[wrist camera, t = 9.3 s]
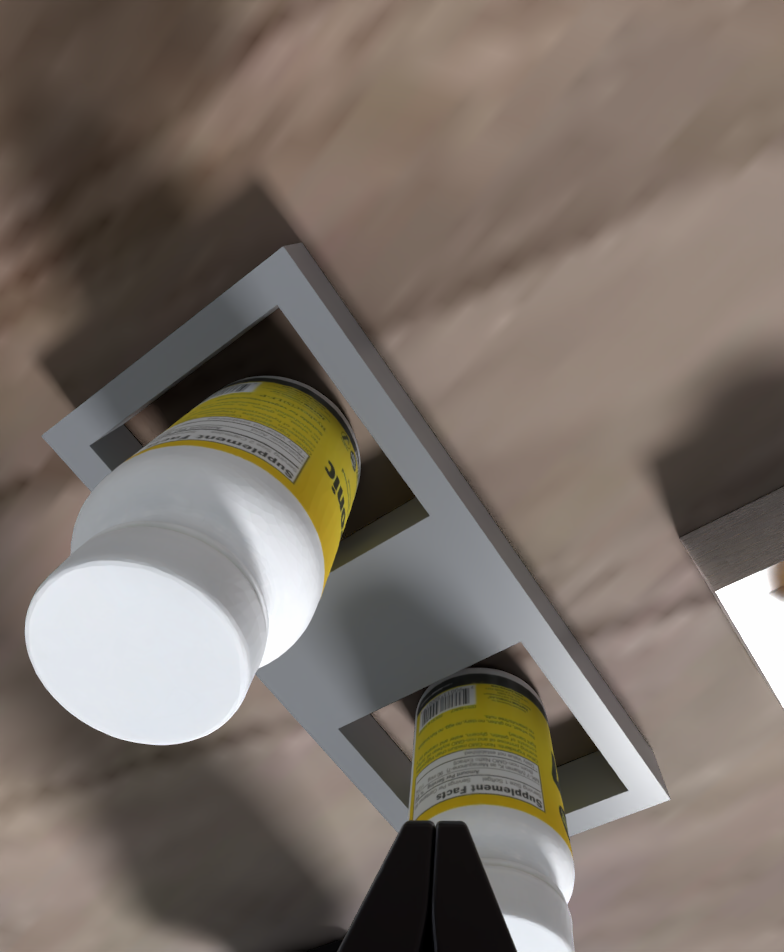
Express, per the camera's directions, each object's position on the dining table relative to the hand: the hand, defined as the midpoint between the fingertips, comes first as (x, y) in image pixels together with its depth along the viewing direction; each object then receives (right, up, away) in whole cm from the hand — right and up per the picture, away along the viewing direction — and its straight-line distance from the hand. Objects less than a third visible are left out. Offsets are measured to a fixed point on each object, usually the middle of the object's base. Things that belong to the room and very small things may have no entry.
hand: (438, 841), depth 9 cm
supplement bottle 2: (+3, -4, +15) cm, 15 cm away
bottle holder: (-1, +1, +13) cm, 13 cm away
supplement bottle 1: (-4, +6, +11) cm, 13 cm away
